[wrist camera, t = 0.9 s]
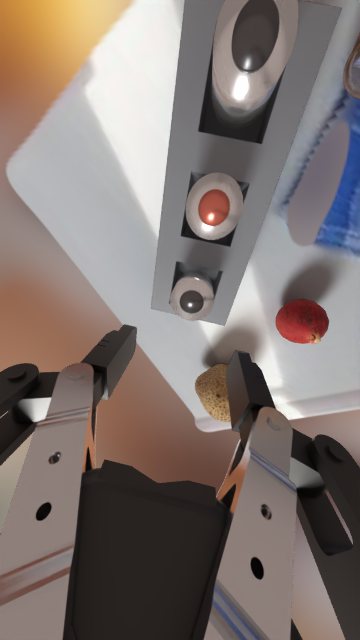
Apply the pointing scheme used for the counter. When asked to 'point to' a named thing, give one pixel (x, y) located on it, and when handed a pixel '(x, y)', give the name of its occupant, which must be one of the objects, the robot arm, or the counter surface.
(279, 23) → the knob
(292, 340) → the onion
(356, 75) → the tin
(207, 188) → the knob mid
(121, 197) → the counter surface
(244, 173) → the mount
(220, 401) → the brown oval lump
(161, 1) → the counter surface
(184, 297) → the knob
